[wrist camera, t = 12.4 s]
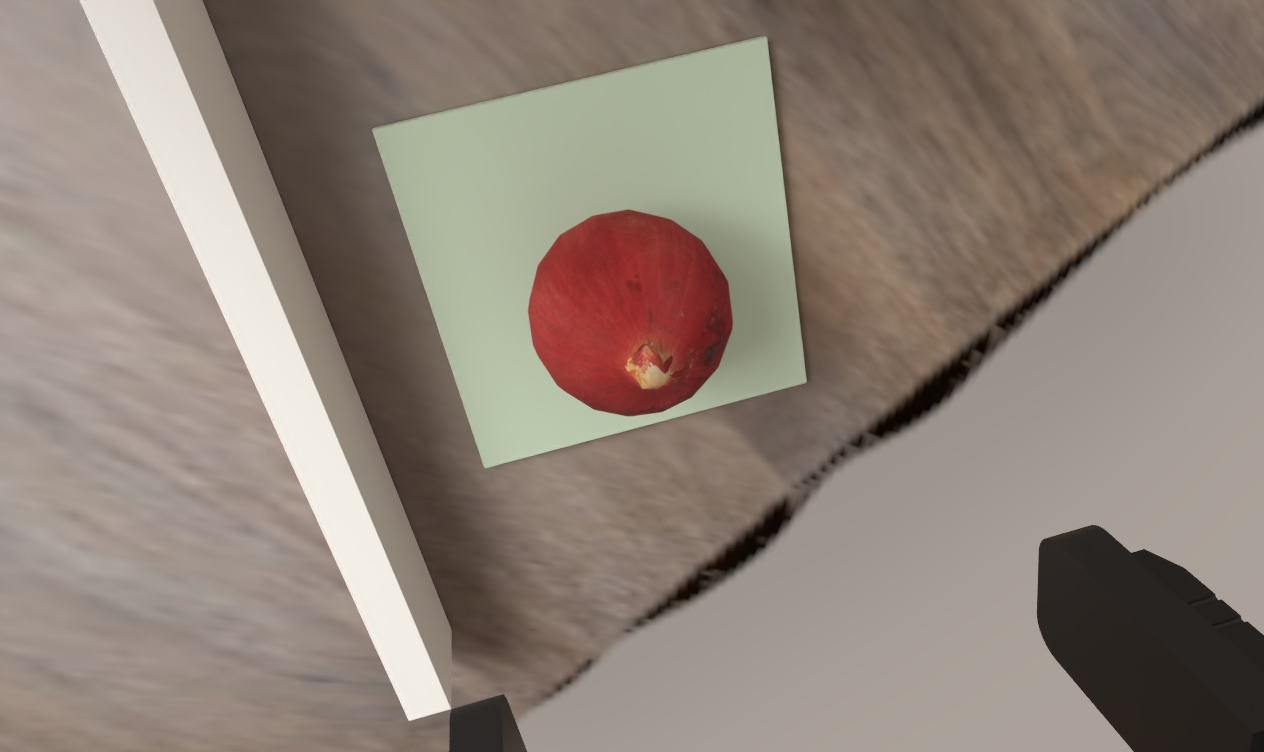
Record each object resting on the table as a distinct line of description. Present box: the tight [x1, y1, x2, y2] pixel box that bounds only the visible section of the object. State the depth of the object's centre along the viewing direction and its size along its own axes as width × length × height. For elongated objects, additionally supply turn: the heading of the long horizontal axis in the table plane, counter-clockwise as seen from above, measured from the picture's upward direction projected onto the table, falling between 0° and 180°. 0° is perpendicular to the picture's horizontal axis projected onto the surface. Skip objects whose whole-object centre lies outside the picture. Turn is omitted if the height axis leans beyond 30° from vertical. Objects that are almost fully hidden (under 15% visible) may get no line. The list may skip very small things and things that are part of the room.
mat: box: [372, 36, 807, 468], centre depth 28 cm, size 12×12×1 cm
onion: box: [528, 209, 733, 416], centre depth 25 cm, size 6×6×8 cm
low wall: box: [80, 0, 452, 721], centre depth 26 cm, size 26×2×4 cm, turn 11°
